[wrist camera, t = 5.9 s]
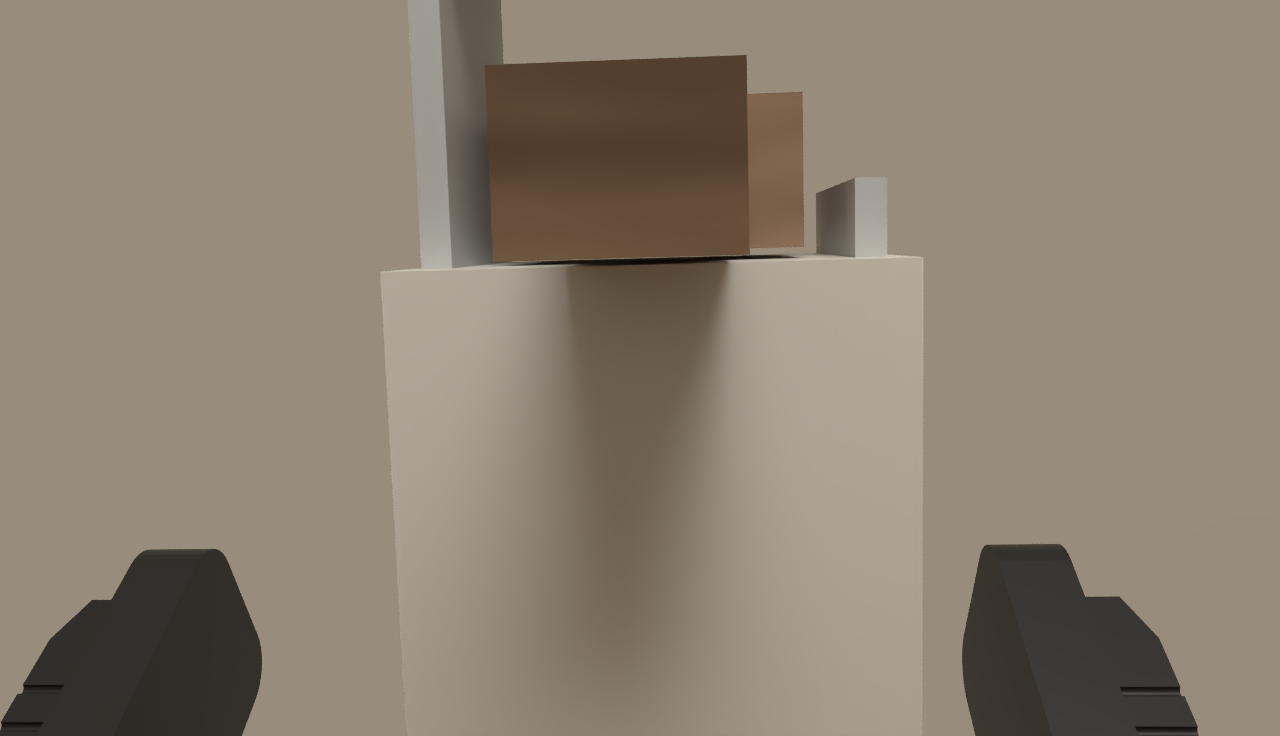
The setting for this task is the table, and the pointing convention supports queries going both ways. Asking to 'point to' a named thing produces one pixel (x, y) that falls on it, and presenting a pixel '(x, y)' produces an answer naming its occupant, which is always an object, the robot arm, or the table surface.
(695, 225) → the wooden plank block
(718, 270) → the stand
